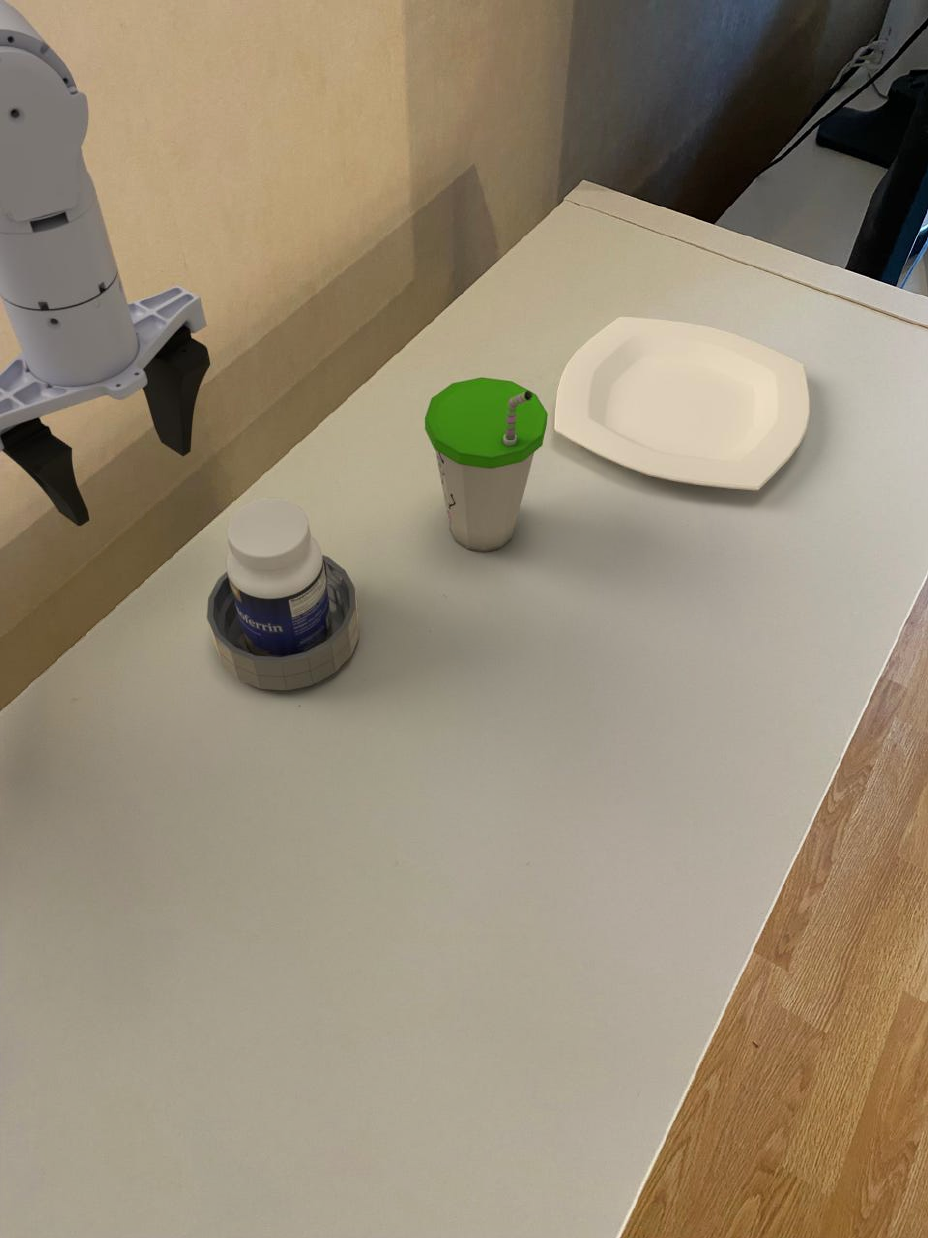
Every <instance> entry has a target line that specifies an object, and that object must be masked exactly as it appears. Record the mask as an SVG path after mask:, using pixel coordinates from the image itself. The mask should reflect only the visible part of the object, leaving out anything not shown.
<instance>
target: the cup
mask: <svg viewBox="0 0 928 1238" xmlns="http://www.w3.org/2000/svg"><path fill="white" fill-rule="evenodd" d="M548 415H549V414H548V412H547V410H546V408H545V407H544V405H543V404H542V402H541V400H540V399H539V397H538V395H537V394H536V393H534V392H532V391H530V390H529V389H527V388H525V387H523V386H521V385H520V384H518V383H516V382H515V381H511V380H507V379H497V378H491V377H490V378H489V377H482V376H481V377H476V378H472V379H467V380H461V381H458V382H453V383H451V384H449V385H448V386H447V387H445V388H444V389H442V390H441V391H440V392H438V393H437V394H435V395H434V396H432V397H431V399H430V402H429V404H428V407H427V411H426V414H425V416H424V430H425V432H426V434H427V436H428V438H429V440H430V443H431V445H432V447H433V448H434V451H435V457H436V461H437V468H438V472H439V479H440V482H441V483H440V484H441V489H442V493H443V498H444V505H445V510H446V514H447V520H448V524H449V530H450V532H451V534H452V537H453V539H454V541H455V542H456V543H458V544H459V545H461V546H462V547H464V548H465V549H467V550H469V551H475V552H481V553H487V552H492V551H495V550H501V549H502V548H503V547H504V546H505V545H507V544H508V543H509V542H511V540H512V539H513V536H514V531H515V529H516V524H517V520H518V516H519V513H520V509H521V505H522V501H523V497H524V494H525V491H526V490H525V489H526V486H527V483H528V479H529V474H530V470H531V467H532V463H533V458H534V455H535V452H536V451H538V450H539V449H540V448H542V446H543V443H544V439H545V435H546V431H547V425H548Z"/></svg>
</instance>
